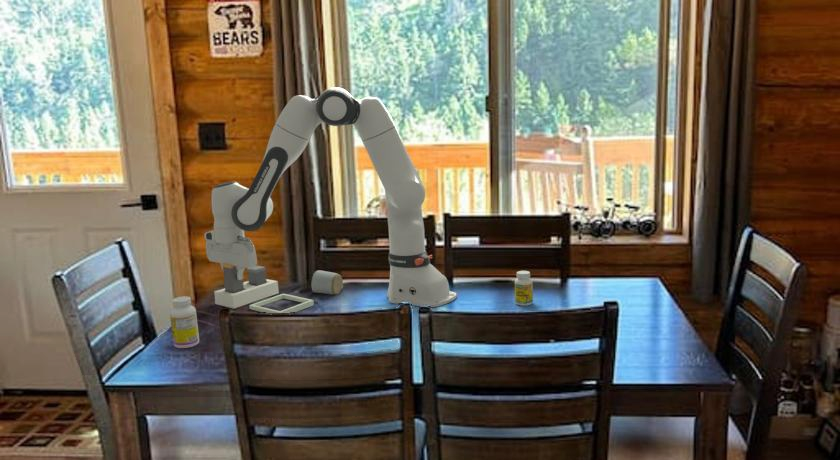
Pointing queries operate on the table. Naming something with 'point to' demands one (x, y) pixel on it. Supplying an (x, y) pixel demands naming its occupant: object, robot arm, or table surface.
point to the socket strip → (246, 294)
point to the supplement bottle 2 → (523, 288)
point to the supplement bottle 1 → (184, 323)
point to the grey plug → (231, 279)
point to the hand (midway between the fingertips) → (233, 278)
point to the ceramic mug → (326, 282)
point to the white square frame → (303, 305)
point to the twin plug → (256, 275)
